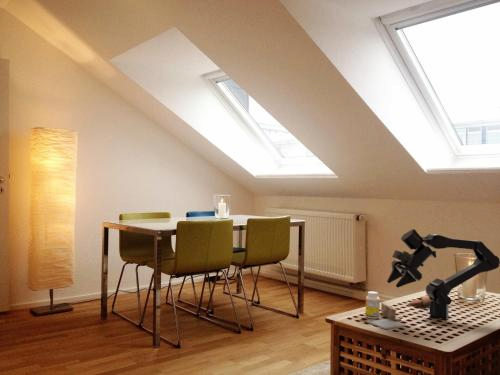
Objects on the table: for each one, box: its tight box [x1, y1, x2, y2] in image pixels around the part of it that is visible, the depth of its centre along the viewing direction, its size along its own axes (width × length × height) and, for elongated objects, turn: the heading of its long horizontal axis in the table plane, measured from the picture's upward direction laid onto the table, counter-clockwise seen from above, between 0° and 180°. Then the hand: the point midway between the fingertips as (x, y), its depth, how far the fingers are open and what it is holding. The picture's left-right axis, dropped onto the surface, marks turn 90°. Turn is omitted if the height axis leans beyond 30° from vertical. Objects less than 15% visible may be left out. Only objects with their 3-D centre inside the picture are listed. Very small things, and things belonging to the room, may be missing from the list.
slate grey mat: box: [366, 318, 406, 330], centre depth 189 cm, size 10×10×1 cm
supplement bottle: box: [365, 290, 381, 320], centre depth 199 cm, size 6×6×10 cm
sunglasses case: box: [407, 295, 432, 309], centre depth 226 cm, size 18×7×7 cm
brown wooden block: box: [380, 302, 402, 322], centre depth 200 cm, size 12×4×4 cm, turn 6°
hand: (392, 284), depth 200 cm, fingers open, 9 cm apart
